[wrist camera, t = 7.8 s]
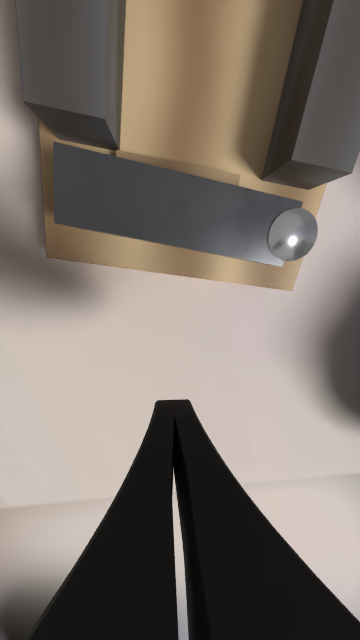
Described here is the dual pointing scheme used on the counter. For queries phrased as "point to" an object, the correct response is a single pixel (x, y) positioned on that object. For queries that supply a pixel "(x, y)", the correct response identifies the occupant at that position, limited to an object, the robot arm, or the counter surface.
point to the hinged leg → (177, 208)
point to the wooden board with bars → (195, 106)
